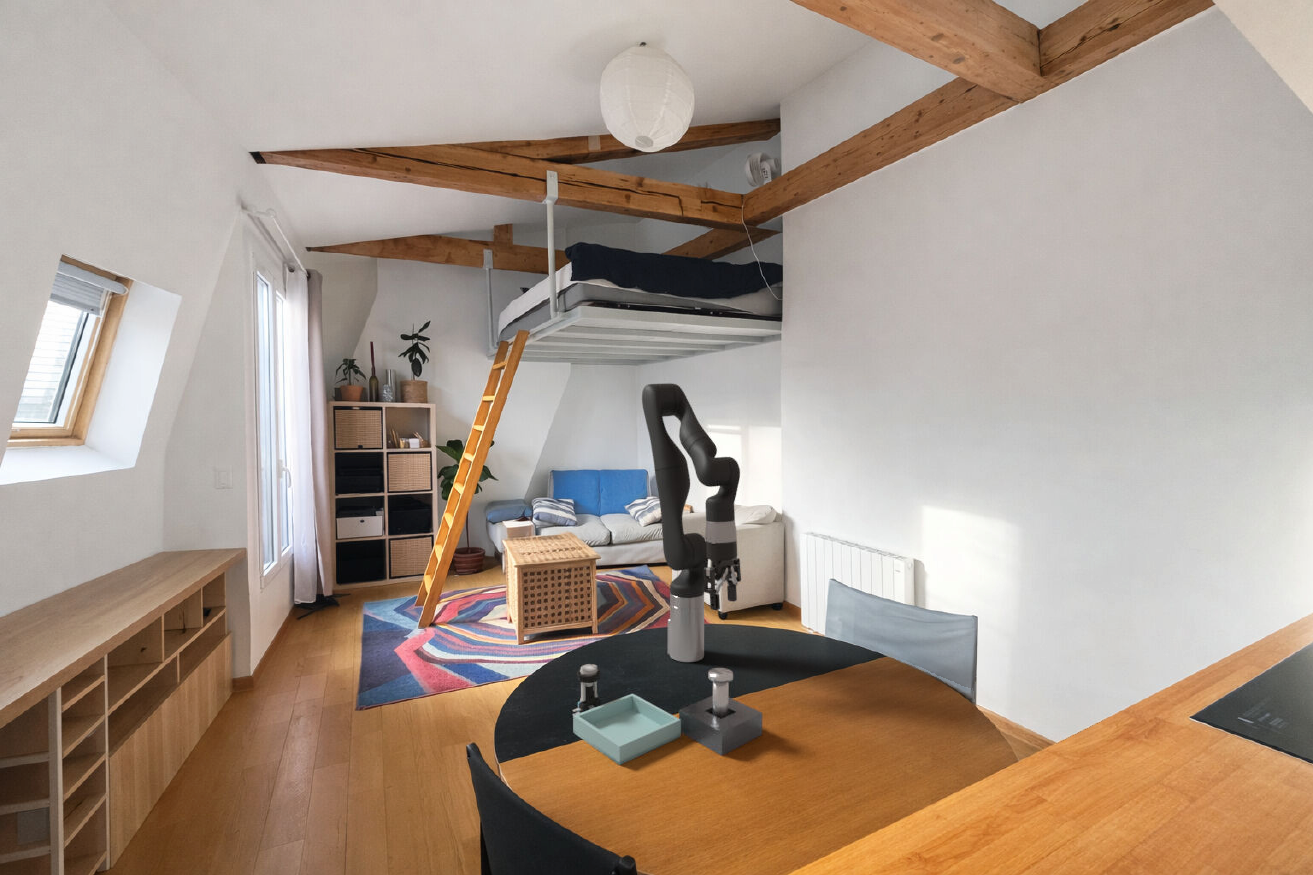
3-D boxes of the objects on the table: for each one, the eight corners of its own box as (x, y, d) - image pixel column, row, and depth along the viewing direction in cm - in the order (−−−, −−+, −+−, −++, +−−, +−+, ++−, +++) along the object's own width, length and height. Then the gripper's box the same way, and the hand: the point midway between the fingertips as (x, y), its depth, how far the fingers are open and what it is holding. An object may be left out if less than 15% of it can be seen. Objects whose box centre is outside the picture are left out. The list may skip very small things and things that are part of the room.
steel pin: (703, 732, 126) (703, 672, 125) (719, 724, 129) (720, 665, 129) (721, 742, 122) (721, 680, 122) (737, 733, 125) (738, 673, 125)
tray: (573, 732, 125) (573, 715, 125) (632, 709, 136) (632, 693, 136) (619, 765, 114) (619, 746, 114) (680, 736, 124) (680, 719, 124)
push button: (579, 722, 130) (579, 675, 129) (566, 712, 134) (566, 667, 134) (605, 713, 134) (605, 668, 133) (593, 704, 138) (592, 660, 138)
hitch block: (679, 731, 126) (679, 709, 126) (719, 713, 134) (719, 692, 134) (721, 755, 117) (721, 732, 117) (762, 734, 125) (762, 712, 125)
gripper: (722, 533, 158) (724, 596, 157) (692, 542, 146) (695, 610, 146) (748, 535, 153) (751, 600, 153) (720, 544, 142) (723, 614, 141)
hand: (723, 605), depth 149 cm, fingers open, 8 cm apart
